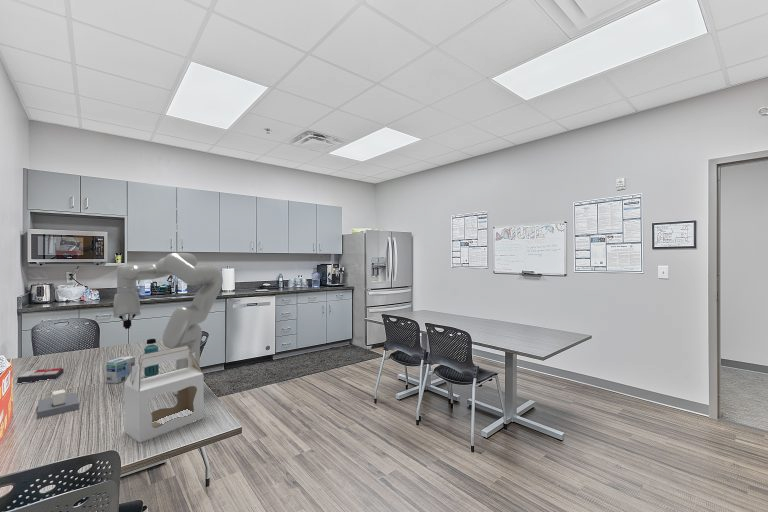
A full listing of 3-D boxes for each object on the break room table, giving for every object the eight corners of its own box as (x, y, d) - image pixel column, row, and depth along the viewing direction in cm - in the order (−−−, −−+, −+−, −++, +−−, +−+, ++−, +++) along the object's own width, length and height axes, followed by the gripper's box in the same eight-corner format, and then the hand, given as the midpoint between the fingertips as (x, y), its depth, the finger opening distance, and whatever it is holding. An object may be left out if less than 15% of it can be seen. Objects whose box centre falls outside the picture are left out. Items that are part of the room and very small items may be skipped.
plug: (65, 410, 143) (65, 392, 143) (53, 413, 140) (53, 394, 141) (64, 406, 146) (64, 389, 146) (52, 409, 144) (52, 391, 144)
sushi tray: (56, 372, 181) (17, 376, 174) (56, 381, 181) (16, 384, 174) (64, 367, 190) (26, 370, 183) (63, 375, 190) (26, 378, 183)
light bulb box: (116, 384, 173) (116, 362, 173) (105, 383, 174) (105, 361, 174) (135, 376, 183) (135, 356, 183) (125, 376, 185) (125, 355, 185)
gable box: (138, 443, 117) (138, 360, 117) (123, 432, 124) (123, 354, 124) (204, 418, 135) (204, 346, 135) (187, 409, 142) (187, 341, 143)
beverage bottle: (147, 380, 178) (147, 341, 178) (141, 378, 181) (141, 339, 181) (161, 376, 183) (161, 338, 183) (155, 374, 187) (155, 337, 187)
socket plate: (78, 409, 144) (78, 401, 144) (38, 418, 136) (38, 410, 136) (76, 398, 156) (76, 390, 156) (38, 406, 147) (38, 398, 147)
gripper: (143, 289, 177) (143, 325, 177) (106, 291, 166) (106, 329, 166) (146, 289, 172) (147, 327, 172) (108, 292, 161) (109, 332, 161)
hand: (127, 328), depth 169 cm, fingers closed
